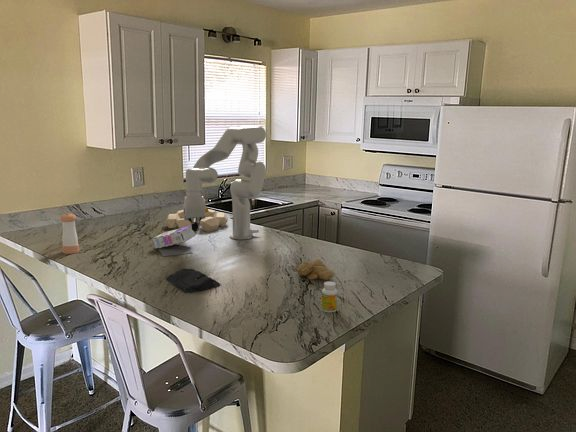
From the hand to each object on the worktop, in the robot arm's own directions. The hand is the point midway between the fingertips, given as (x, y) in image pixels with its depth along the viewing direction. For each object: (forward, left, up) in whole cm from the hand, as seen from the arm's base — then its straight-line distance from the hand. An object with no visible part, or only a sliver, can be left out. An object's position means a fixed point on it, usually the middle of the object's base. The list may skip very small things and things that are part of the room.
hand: (195, 230), depth 237 cm
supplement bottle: (-24, +91, -10) cm, 95 cm away
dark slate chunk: (+13, +46, -10) cm, 49 cm away
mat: (+10, 0, -9) cm, 14 cm away
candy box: (+2, -3, -2) cm, 4 cm away
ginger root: (-35, +59, -10) cm, 69 cm away
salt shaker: (+56, -18, -10) cm, 60 cm away
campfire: (-13, -47, -10) cm, 50 cm away
